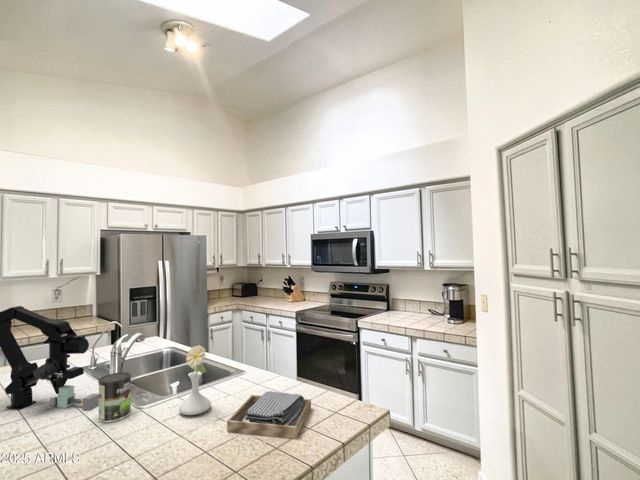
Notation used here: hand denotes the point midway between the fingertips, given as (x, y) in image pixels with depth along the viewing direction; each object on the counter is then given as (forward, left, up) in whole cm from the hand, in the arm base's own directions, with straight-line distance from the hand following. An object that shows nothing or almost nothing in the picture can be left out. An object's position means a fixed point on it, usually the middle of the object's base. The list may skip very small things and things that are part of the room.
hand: (58, 393), depth 134 cm
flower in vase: (+58, +4, -5) cm, 58 cm away
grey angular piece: (+7, 0, -4) cm, 9 cm away
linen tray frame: (+88, +3, -4) cm, 88 cm away
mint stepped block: (+4, 0, -4) cm, 6 cm away
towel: (+89, +3, -5) cm, 90 cm away
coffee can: (+30, -4, -5) cm, 31 cm away
